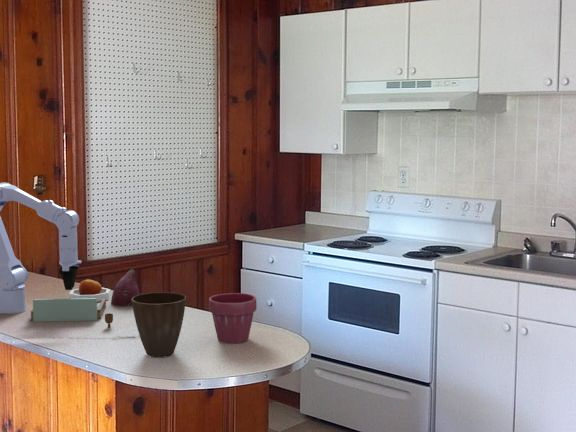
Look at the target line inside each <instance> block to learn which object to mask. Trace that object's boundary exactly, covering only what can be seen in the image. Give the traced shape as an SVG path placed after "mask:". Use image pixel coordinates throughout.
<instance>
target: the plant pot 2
mask: <svg viewBox="0 0 576 432" xmlns="http://www.w3.org/2000/svg"><path fill="white" fill-rule="evenodd" d="M257 304H258V303H257V297H256V296H255V295H254V294H249V293H243V292H229V293H220V294H215V295H211V296H210V297H209V298H208V310H209V312H210V313H211V314H212V319H213V325H214V328H215V333H216V337H217V341H218V342H220V343H224V344H242V343H245V342H248V341H249V336H250V333H251V329H252V328H251V327H252V323H253V317H254V313H255V312H256V311H257V310H258V309H257V307H258V305H257Z"/></svg>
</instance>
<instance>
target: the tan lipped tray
mask: <svg viewBox="0 0 576 432" xmlns="http://www.w3.org/2000/svg"><path fill="white" fill-rule="evenodd" d="M106 308H107V300H106V299H102V301H100V304H99V305H98V306H97V320H101V319H102V317H103V315H104V313H105V311H106ZM30 319H31V320H30V321H31V322H34V320H33V309H31V311H30Z"/></svg>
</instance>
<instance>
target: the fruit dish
mask: <svg viewBox="0 0 576 432" xmlns="http://www.w3.org/2000/svg"><path fill="white" fill-rule="evenodd" d="M68 296H69V297H68V299H70V298H97V303H99V302H101V301H102V299H106V301H108V300H110V298H111V288H106V287H102V288H101V291H100V293H99V294H95V295H80V293H79V288H75V289H72V290H69V293H68Z"/></svg>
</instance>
